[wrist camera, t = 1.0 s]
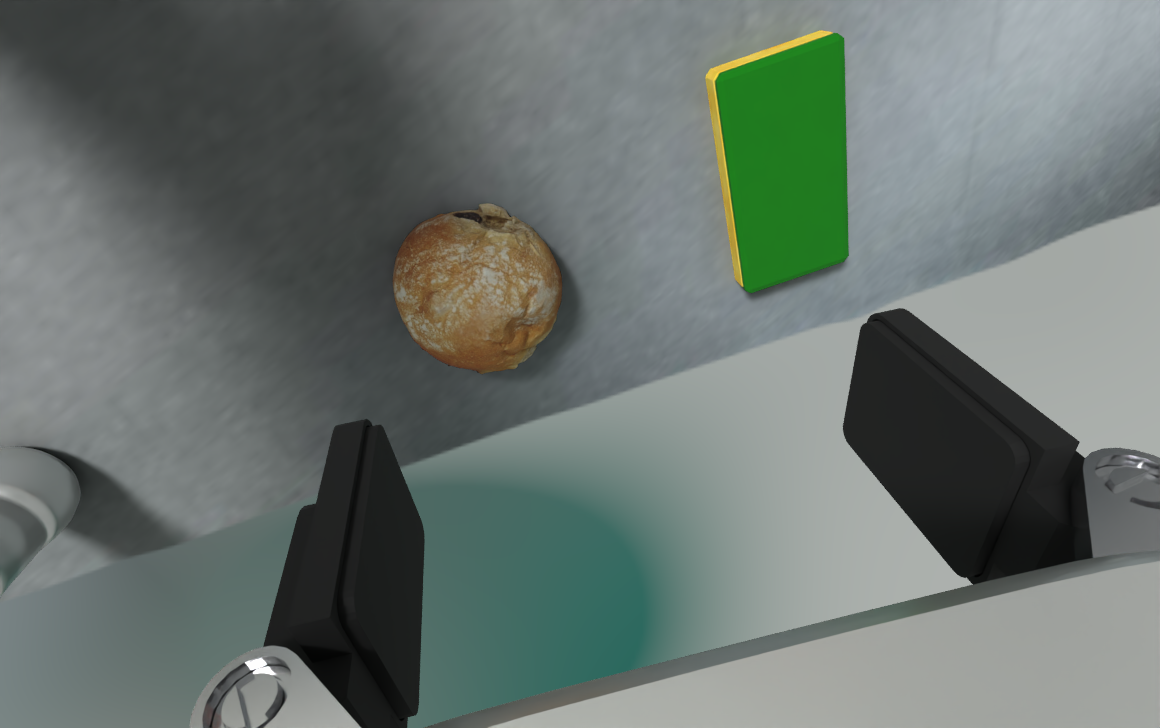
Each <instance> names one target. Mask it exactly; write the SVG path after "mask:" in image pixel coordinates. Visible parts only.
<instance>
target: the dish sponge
mask: <svg viewBox="0 0 1160 728" xmlns="http://www.w3.org/2000/svg"><path fill="white" fill-rule="evenodd" d="M705 78H706V85H707V92H708V99H709V105H710V112H711V119H712V126H713V132H714V139H715V146H716V153H717V160H718V166H719V173H720V180H721V187H722V193H723V200H724V207H725V214H726V220H727V227H728V234H729V241H730V248H731V254H732V261H733V268H734V275H735V279H736V280H737V282H738V283H739V284H740V285H741V286H742V287H743V288H744V290H745V291H747V292H749V293H753V292H756V291H759V290H762V289H765V288H768V287H771V286H774V285H777V284H780V283H783V282H786V281H789V280H791V279H794V278H797V277H800V276H803V275H806V274H809V273H812V272H815V271H818V270H821V269H824V268H827V267H830V266H833V265H835V264H838V263H841V262H844V261H845V259H846V258H847V257H848V256H849V252H848V203H847V154H846V105H845V56H844V38H843V37H842V36H841V35H839V34H838V33H832V32H827V31H822V30H820V31H817V32H815V33H812V34H809V35H806V36H803V37H800V38H797V39H795V40H792V41H789V42H786V43H783V44H780V45H777V46H774V47H772V48H769V49H766V50H763V51H760V52H757V53H754V54H751V55H749V56H746V57H743V58H740V59H737V60H734V61H731V62H728V63H726V64H723V65H720V66H717V67H714V68H711V69H710V70H709V72H708V74H707V75H706V77H705Z"/></svg>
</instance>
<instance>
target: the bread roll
mask: <svg viewBox="0 0 1160 728" xmlns="http://www.w3.org/2000/svg"><path fill="white" fill-rule="evenodd" d="M393 289H394V296H395V301H396V305H397V308H398V310H399V313H400V315H401V318H402V320H403V322H404V324H405V325H406V327H407V329H408V331H409V333H410V335H411V337H412V338H413V340H414V341H415V342H416V343H417V344H419V345H420V347H421V348H422V349H423V350H425V351H427V352H428V353H429V354H430V355H432V356H433V357H435V358H436V359H437V360H439V361H441V362H443V363H445V364H448V366H454V367H458V368H465V369H471V370H476V371H477V372H478V373H480V374H483V373H487V372H493V371H503V370H506V369H515V368H517V367H518V364H519V363H522V362H524V361H526V360H527V359H528V358H529V357H530V356H532V354H533V352H534V351H535V350H536V347H537V346H536V345H537V344H538V343H540V342H541V341H542V340H543V339H545V337H546V336H547V335H548V334H549V333H550V331H551V330H552V329H553V324H554V323H555V321H556V319H557V312H558V309H559V306H560V303H561V297H562V276H561V272H560V269H559V267H558V265H557V263H556V261H555V258H554V256H553V255H552V253H551V251H550V249H549V247H548V246H547V244H546V243H545V242H544V241H543V240H542V239H541V238H540V236H539V235H538V234H537V233H536V232H535V231H534V230H533V229H532V227H531V226H530V225H528V224H526V223H524V222H522V221H520V220H519V219H518V218H516V217H515V216H513V217H510V216H509V215H508V213H507V211H506V210H505V209H504V208H502V207H499V206H496V205H493V204H489V203H488V204H479V209H478V210H464V211H456V212H451V213H448V214H439V215H437V216H436V217H433V218H431V219H428V220H426V221H424V222H422V223H420V224H419V225H417V226H416V227H415V228H414V229H413V230H412V231H411V232H410V233H409V235H408V236H407V237H406V239H405V240H404V242H403V244H402V245H401V247H400V249H399V251H398V254H397V256H396V260H395V266H394V273H393Z"/></svg>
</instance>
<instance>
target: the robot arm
mask: <svg viewBox="0 0 1160 728" xmlns="http://www.w3.org/2000/svg"><path fill="white" fill-rule="evenodd" d="M843 432H844V436H845V439H846V441H847V442H848V444H849V445H850V446H851V448H852V449H853V450H854V451H855V453H857V455H858V456H859V457H860V458H861V460H862V461H863V462H864V463H865V465H866V466H867V467H868V468H869V469H870V471H871V472H872V473H873V474H874V475H875V477H876V478H877V479H878V480H879V481H880V483H881V484H882V485H883V486H884V487H885V489H886V490H887V491H888V492H889V493H890V495H891V496H892V497H893V498H894V500H895V501H896V502H897V503H898V504H899V505H900V507H901V508H902V509H903V510H904V512H905V513H906V514H907V515H908V516H909V518H910V519H911V520H912V521H913V523H914V524H915V525H916V526H917V527H918V528H919V530H920V531H921V532H922V533H923V535H924V536H925V537H926V538H927V539H928V541H929V542H930V543H931V544H932V545H933V547H934V548H935V549H936V550H937V551H938V553H939V554H940V555H941V556H942V558H943V559H944V560H945V561H946V562H947V564H948V565H949V566H950V567H951V568H952V570H953V571H954V572H955V573H956V574H957V575H959V576H961V577H964V578H966V577H967V578H968V579H969V581H970V582H971V583H972V584H973V585H970V586H966V587H962V588H958V589H954V590H950V591H945V592H941V593H937V594H933V595H929V596H925V597H921V598H917V599H913V600H909V601H905V602H901V603H897V604H892V605H888V606H884V607H880V608H876V609H872V610H868V611H864V612H860V613H856V614H852V615H848V616H844V617H840V618H836V619H832V620H828V621H824V622H820V623H816V624H812V625H808V626H804V627H800V628H796V629H792V630H788V631H784V632H780V633H776V634H772V635H768V636H765V637H760V638H756V639H752V640H748V641H745V642H741V643H736V644H733V645H729V646H725V647H721V648H717V649H713V650H709V651H705V652H701V653H697V654H693V655H689V656H685V657H681V658H678V659H674V660H670V661H666V662H662V663H658V664H654V665H650V666H646V667H642V668H638V669H635V670H631V671H627V672H623V673H619V674H615V675H611V676H608V677H603V678H600V679H596V680H592V681H588V682H584V683H580V684H576V685H572V686H569V687H565V688H561V689H557V690H553V691H550V692H546V693H542V694H538V695H535V696H531V697H528V698H524V699H520V700H517V701H513V702H510V703H506V704H502V705H498V706H495V707H491V708H487V709H484V710H481V711H477V712H473V713H469V714H466V715H462V716H459V717H455V718H452V719H449V720H446V721H443V722H440V723H437V724H434V725H431V726H428V727H425V728H1160V458H1159V457H1156V456H1154V455H1151V454H1147V453H1143V452H1140V451H1136V450H1130V449H1122V448H1108V449H1101V450H1097V451H1095V452H1092V453H1090V454H1089V455H1088V456H1087V457H1086V458H1084V457H1083V456H1082V455H1080V454H1079V453H1078V452H1077V451H1076V449H1077V447H1078V444H1079V441H1077V439H1075V438H1074V437H1073V436H1071V435H1070V434H1068V433H1067V432H1066V431H1065V430H1063V429H1062V428H1060V426H1058V425H1057V424H1056V423H1054V422H1053V421H1051V420H1050V419H1049V418H1048V417H1046V416H1045V415H1044V414H1043V413H1041V412H1040V411H1039V410H1037V409H1036V408H1035V407H1033V406H1032V405H1031V404H1029V403H1028V402H1026V401H1025V400H1024V399H1023V398H1022V397H1020V396H1019V395H1018V394H1016V393H1015V392H1014V391H1012V390H1011V389H1010V388H1008V387H1007V386H1006V385H1004V384H1003V383H1002V382H1001V381H999V380H998V379H997V378H995V377H994V376H993V375H991V374H990V373H989V372H988V371H986V370H985V369H984V368H982V367H981V366H980V365H978V364H977V363H976V362H974V361H973V360H972V359H970V358H969V357H968V356H967V355H965V354H964V353H963V352H961V351H960V350H959V349H957V348H956V347H955V346H954V345H952V344H951V343H950V342H948V341H947V340H946V339H944V338H943V337H942V336H940V335H939V334H938V333H936V332H935V331H934V330H933V329H931V328H930V327H929V326H927V325H926V324H925V323H923V322H922V321H921V320H920V319H918V318H917V317H915V316H914V315H913V314H912V313H910V312H909V311H907V310H905V309H900V308H899V309H895V310H890V311H885V312H881V313H875V314H873V315H871V316H870V317H869V319H868V321H867V323H865V324H863V325H862V327H861V329H860V335H859V340H858V345H857V351H856V356H855V362H854V367H853V373H852V379H851V384H850V390H849V395H848V401H847V406H846V412H845V418H844V423H843ZM423 567H424V530H423V525H422V521H421V518H420V516H419V514H418V511H417V509H416V506H415V504H414V502H413V499H412V497H411V494H410V492H409V489H408V487H407V484H406V482H405V479H404V477H403V474H402V472H401V470H400V467H399V465H398V462H397V460H396V457H395V455H394V452H393V450H392V448H391V445H390V443H389V440H388V438H387V435H386V433H385V430H384V428H383V427H382V425H375V426H372V424H371V422H370V421H369V420H367V419H365V420H361V421H356V422H351V423H346V424H341V425H337V426H335V428H334V430H333V434H332V438H331V442H330V447H329V451H328V455H327V459H326V464H325V468H324V472H323V476H322V481H321V485H320V489H319V493H318V498H317V502H316V504H312V505H307V506H304V507H303V508H302V509H301V510H300V512H299V515H298V517H297V521H296V524H295V528H294V532H293V536H292V539H291V544H290V547H289V551H288V555H287V558H286V562H285V566H284V570H283V574H282V577H281V581H280V585H279V589H278V593H277V596H276V600H275V604H274V608H273V612H272V615H271V619H270V623H269V627H268V631H267V635H266V638H265V642H264V646H263V647H260V648H256V649H254V650H252V651H249V652H247V653H245V654H242V655H241V656H239V657H238V658H236V659H234V660H233V661H232V662H230V663H229V664H227V665H226V666H224V667H223V668H222V669H221V670H220V671H219V672H218V673H217V674H216V675H215V676H214V677H213V678H212V679H211V680H210V681H209V683H208V684H207V686H206V687H205V688H204V690H203V691H202V693H201V694H200V696H199V697H198V700H197V702H196V704H195V707H194V709H193V712H192V714H191V722H190V728H407V721H408V717H410V716H414V715H416V714H417V712H418V705H419V681H420V652H421V651H420V650H421V624H422V596H423Z"/></svg>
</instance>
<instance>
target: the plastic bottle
mask: <svg viewBox="0 0 1160 728" xmlns="http://www.w3.org/2000/svg"><path fill="white" fill-rule="evenodd" d="M80 498H81V490H80V486H79V482H78V479H77V477H76V475H75V473H74V472H73V471H72V469H71V468H70V467H69V466H68V465H67V464H65V463H64V462H63V461H61V460H60V459H58V458H56V457H54V456H52V455H51V454H48V453H45V452H43V451H40V450H36V449H32V448H26V447H4V448H0V598H1V596H2V595H3V593H4V592H5V590H6V589H7V588H8V587H9V586H10V585H11V583H12V582H13V581H14V580H15V579H16V578H17V577H18V575H19V574H20V573H21V572H22V571H23V570H24V569H25V567H26V566H27V565H28V564H29V563H30V562H31V561H32V559H33V558H34V557H35V556H36V555H37V554H38V552H39V551H40V550H42V549H43V548H44V547H45V546H46V545H48V544H49V543H50V542H51V541H52V540H53V539H54V538H56V536H57V535H58V534H59V533H60V532H61V531H62V530H63V529H64V528H65V527H66V526H67V525H68V524H69V523H70V521H71V520H72V518H73V516H74V514H75V511H76V509H77V506H78V504H79V502H80Z"/></svg>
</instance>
